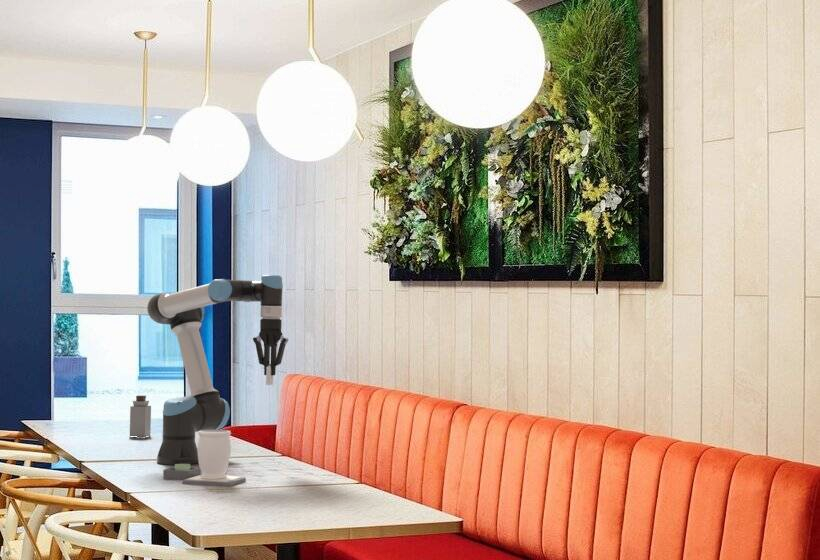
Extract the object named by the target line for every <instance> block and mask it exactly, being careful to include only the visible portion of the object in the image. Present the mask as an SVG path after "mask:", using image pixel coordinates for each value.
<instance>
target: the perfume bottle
mask: <svg viewBox="0 0 820 560" xmlns="http://www.w3.org/2000/svg"><path fill="white" fill-rule="evenodd" d="M146 398H147V395H141V394H140V395H139V394H138V395H136V396H135V399H136V400H132V406H130V409H129V410H130V411H129V412H130V413H129V437H130V436H137V437H146V436H150V437H151V430H152V429H151V426H152V425H151V423H152V419H151V418H152V406H151V405H149V403H150V400H147V399H146Z"/></svg>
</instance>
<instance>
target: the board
mask: <svg viewBox="0 0 820 560" xmlns="http://www.w3.org/2000/svg"><path fill="white" fill-rule="evenodd" d="M246 480H247V477H243V476H237V475H236V476H235V475H233V476H232V475H227V477H226V478H223V479H204V478H201V477H200V475H198V476H195V477H192V478H188V479H185V480H182V483H181V484H182V485H193V486H194V485H195V486H209V487H224V488H231V487H232V486H235V485H236V486H237V485H238V484H239V485H240V484H241V483H244V482H246Z"/></svg>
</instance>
